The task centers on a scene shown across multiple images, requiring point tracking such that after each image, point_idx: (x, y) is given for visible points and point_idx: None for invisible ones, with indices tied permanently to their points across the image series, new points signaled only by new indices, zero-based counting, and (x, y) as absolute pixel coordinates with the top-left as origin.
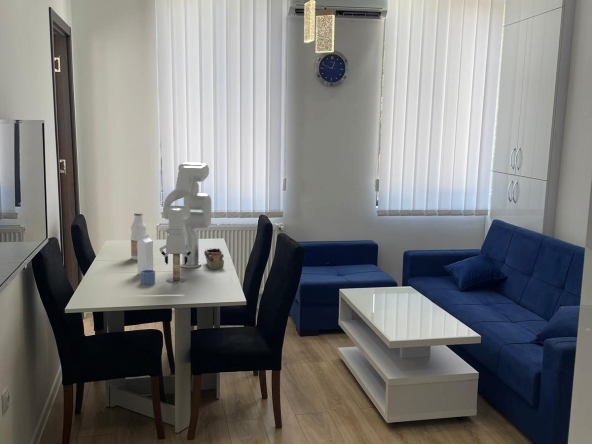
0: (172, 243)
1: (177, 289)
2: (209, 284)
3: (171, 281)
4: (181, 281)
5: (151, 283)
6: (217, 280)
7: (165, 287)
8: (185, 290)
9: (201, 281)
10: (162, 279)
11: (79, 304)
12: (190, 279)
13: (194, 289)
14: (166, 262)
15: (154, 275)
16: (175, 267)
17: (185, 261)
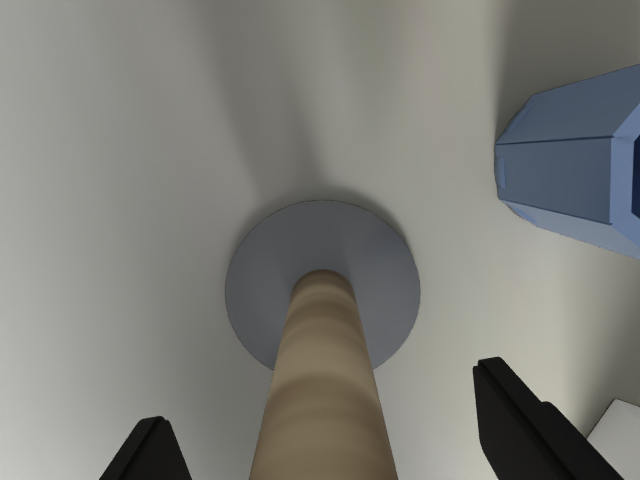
0: None
1: (229, 32)
2: (8, 269)
3: (358, 258)
4: (265, 275)
5: (538, 105)
6: (4, 395)
7: (371, 87)
8: (134, 8)
9: (117, 346)
10: (462, 345)
11: None
12: (230, 385)
13: (62, 68)
14: (512, 380)
15: (569, 141)
16: (322, 344)
17: (115, 467)
